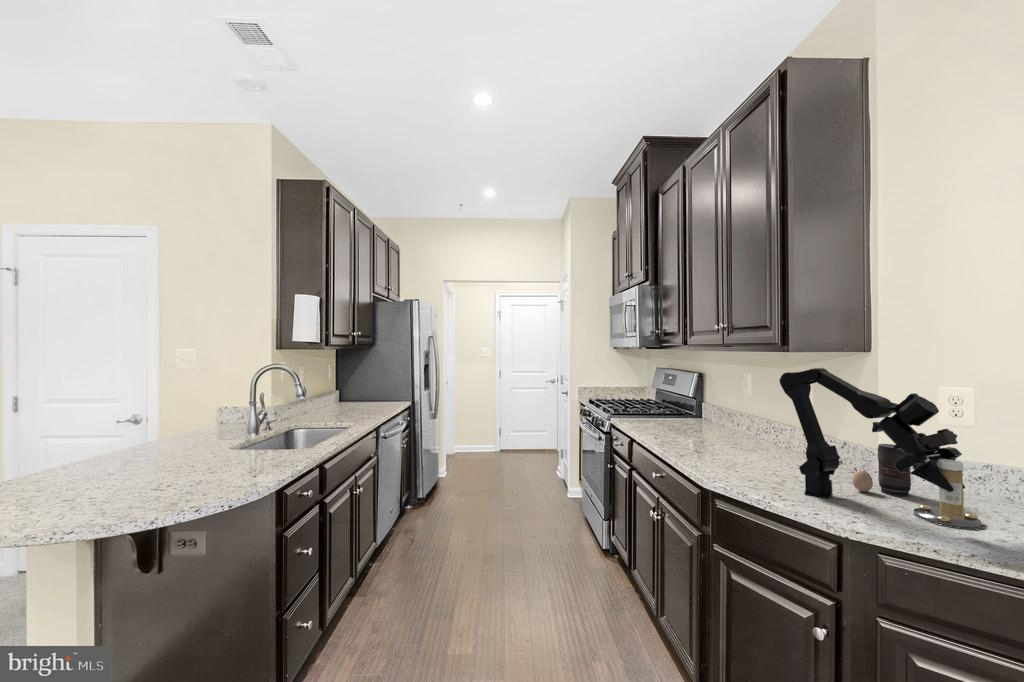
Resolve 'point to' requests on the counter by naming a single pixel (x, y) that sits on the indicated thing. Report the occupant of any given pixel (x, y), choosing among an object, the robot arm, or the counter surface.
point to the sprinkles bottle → (953, 500)
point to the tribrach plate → (947, 518)
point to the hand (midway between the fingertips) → (957, 490)
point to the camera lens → (892, 472)
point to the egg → (862, 481)
